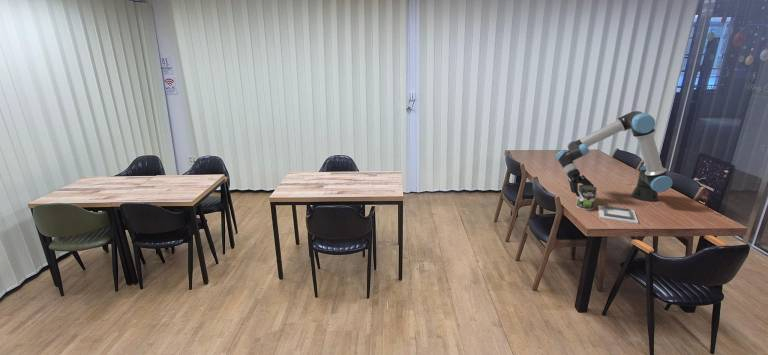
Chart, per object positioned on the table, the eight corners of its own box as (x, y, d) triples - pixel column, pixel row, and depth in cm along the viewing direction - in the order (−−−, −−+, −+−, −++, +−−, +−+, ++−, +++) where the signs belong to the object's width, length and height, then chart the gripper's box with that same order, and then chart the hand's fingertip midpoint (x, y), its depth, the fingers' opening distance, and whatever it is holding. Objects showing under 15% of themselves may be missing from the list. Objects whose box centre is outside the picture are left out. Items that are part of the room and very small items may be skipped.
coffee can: (595, 210, 235) (599, 190, 230) (578, 209, 237) (581, 189, 233) (590, 204, 244) (594, 185, 240) (574, 203, 247) (577, 184, 242)
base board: (633, 211, 232) (634, 208, 231) (638, 223, 215) (638, 220, 214) (598, 206, 241) (598, 203, 240) (599, 218, 224) (600, 214, 223)
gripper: (579, 171, 253) (596, 197, 245) (555, 176, 242) (572, 204, 234) (587, 165, 247) (605, 192, 239) (563, 171, 236) (581, 199, 228)
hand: (589, 198), depth 237 cm, fingers open, 13 cm apart
